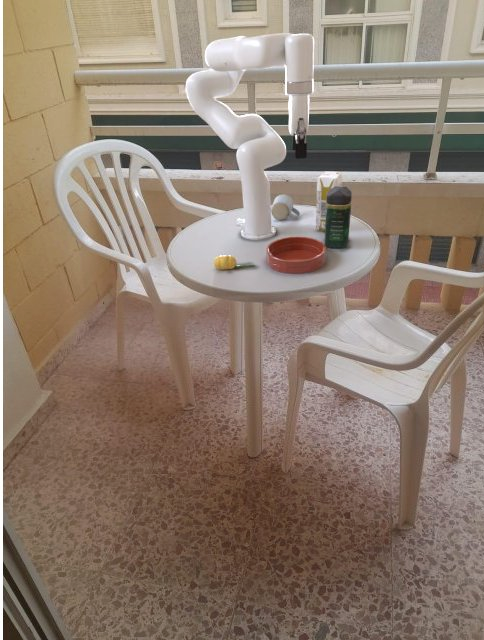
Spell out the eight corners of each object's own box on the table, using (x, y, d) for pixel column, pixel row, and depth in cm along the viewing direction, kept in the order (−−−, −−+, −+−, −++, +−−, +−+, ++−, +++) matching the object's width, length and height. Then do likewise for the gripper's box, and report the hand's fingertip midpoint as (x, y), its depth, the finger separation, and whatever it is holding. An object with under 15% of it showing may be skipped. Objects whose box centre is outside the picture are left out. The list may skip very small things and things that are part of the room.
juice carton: (314, 231, 162) (315, 177, 151) (320, 222, 168) (322, 170, 157) (335, 233, 159) (337, 178, 148) (340, 224, 166) (343, 171, 155)
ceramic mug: (270, 220, 172) (270, 201, 168) (274, 213, 179) (273, 193, 174) (298, 222, 170) (298, 201, 166) (301, 214, 177) (301, 194, 172)
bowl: (256, 268, 141) (255, 255, 138) (283, 245, 154) (282, 233, 151) (310, 279, 133) (311, 266, 130) (334, 254, 146) (334, 241, 143)
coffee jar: (347, 251, 147) (351, 194, 137) (322, 249, 149) (324, 193, 138) (349, 238, 155) (353, 184, 144) (326, 237, 157) (328, 183, 146)
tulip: (214, 272, 140) (212, 259, 138) (215, 265, 144) (213, 253, 142) (255, 270, 140) (254, 257, 137) (255, 263, 144) (254, 250, 141)
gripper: (283, 85, 131) (284, 147, 140) (287, 93, 116) (288, 162, 126) (309, 83, 130) (309, 146, 140) (317, 91, 116) (315, 160, 126)
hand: (299, 153), depth 133 cm, fingers open, 9 cm apart
